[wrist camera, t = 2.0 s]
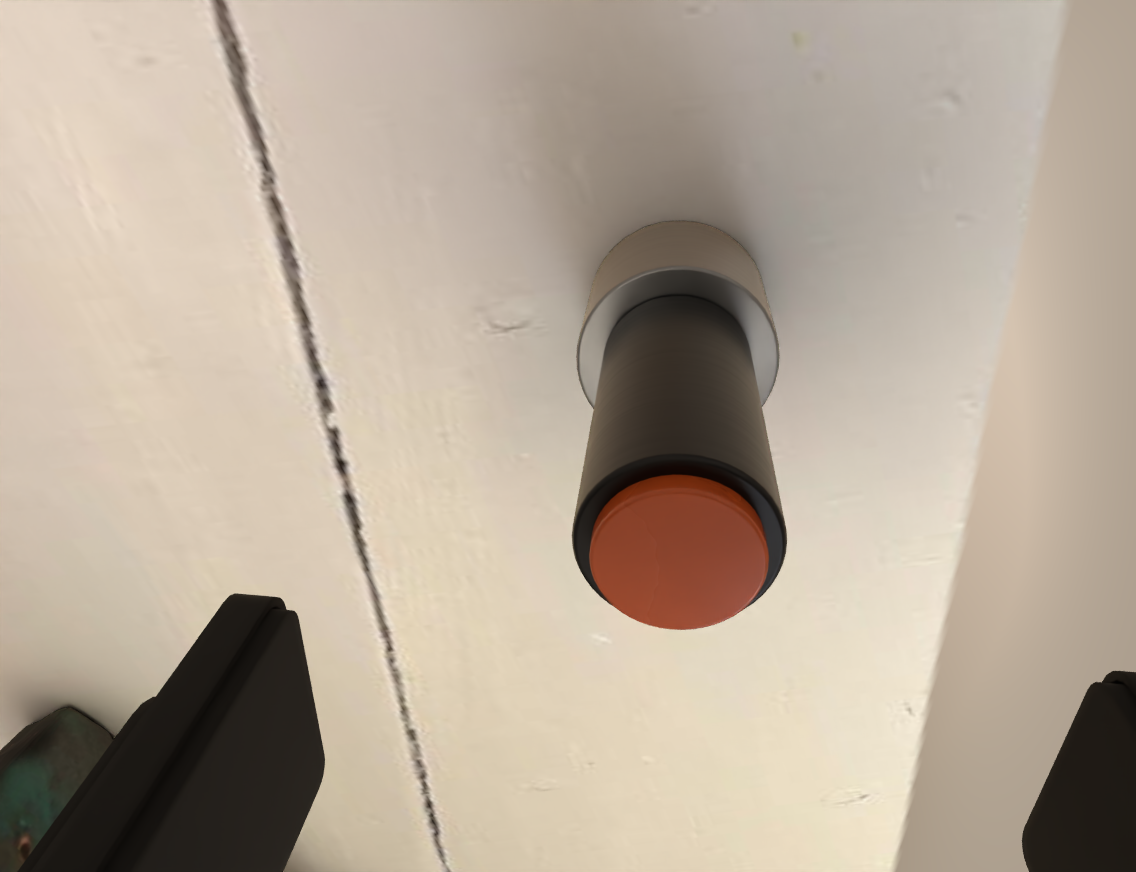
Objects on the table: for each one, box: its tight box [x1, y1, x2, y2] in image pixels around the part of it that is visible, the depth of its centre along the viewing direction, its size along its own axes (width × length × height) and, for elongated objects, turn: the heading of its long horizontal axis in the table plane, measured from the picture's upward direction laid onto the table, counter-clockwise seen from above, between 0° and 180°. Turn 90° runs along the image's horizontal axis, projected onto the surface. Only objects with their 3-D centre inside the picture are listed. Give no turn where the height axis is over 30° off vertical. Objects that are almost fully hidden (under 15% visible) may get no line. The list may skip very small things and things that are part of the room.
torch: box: [572, 221, 787, 630], centre depth 16 cm, size 4×4×10 cm
